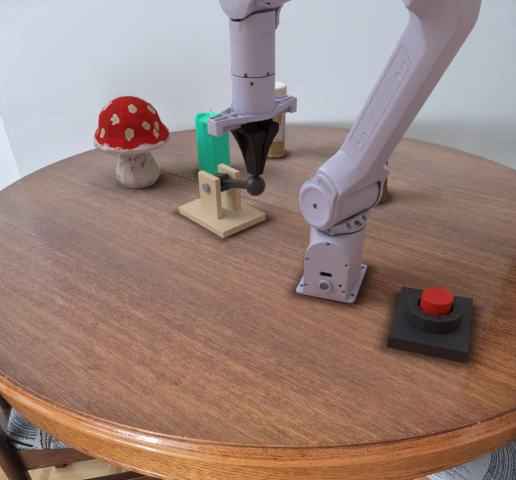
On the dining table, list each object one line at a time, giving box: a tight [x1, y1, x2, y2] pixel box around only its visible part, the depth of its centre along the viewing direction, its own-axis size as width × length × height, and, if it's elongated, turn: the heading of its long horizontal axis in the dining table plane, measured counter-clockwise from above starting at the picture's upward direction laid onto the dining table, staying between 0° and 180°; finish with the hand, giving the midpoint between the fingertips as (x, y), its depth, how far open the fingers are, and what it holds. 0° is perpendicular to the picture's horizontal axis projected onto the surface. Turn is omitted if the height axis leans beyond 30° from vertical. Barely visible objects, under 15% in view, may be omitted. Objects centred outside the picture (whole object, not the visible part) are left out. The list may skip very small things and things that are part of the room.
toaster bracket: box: [178, 163, 267, 239], centre depth 88 cm, size 12×9×8 cm
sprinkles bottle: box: [267, 81, 288, 159], centre depth 106 cm, size 5×5×14 cm
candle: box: [193, 107, 231, 175], centre depth 100 cm, size 6×6×12 cm
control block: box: [386, 285, 474, 364], centre depth 67 cm, size 11×9×4 cm
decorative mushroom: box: [92, 95, 172, 189], centre depth 97 cm, size 14×14×15 cm
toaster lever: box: [213, 173, 266, 197], centre depth 83 cm, size 12×3×3 cm, turn 42°
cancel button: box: [420, 286, 454, 316], centre depth 65 cm, size 4×4×2 cm
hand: (255, 173), depth 79 cm, fingers closed
